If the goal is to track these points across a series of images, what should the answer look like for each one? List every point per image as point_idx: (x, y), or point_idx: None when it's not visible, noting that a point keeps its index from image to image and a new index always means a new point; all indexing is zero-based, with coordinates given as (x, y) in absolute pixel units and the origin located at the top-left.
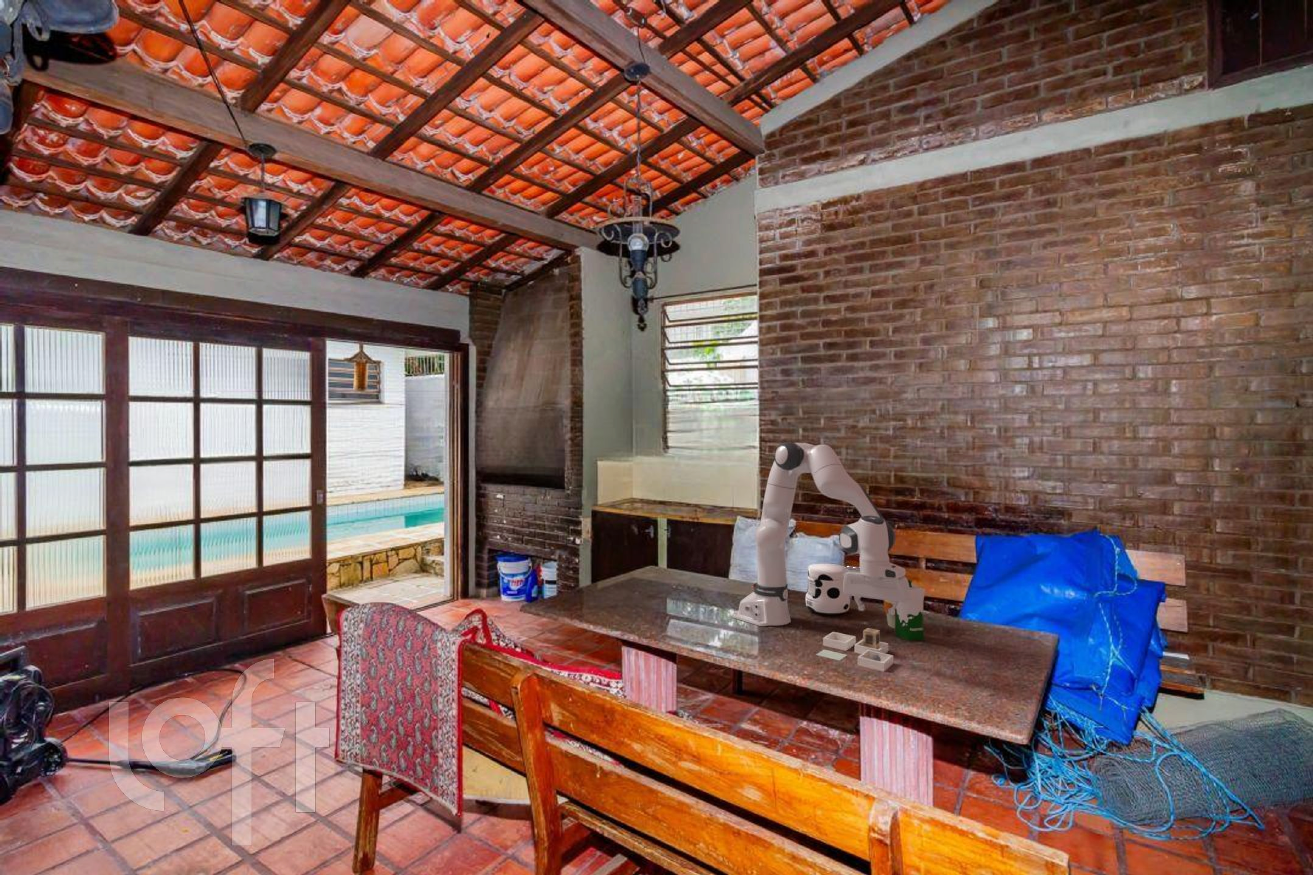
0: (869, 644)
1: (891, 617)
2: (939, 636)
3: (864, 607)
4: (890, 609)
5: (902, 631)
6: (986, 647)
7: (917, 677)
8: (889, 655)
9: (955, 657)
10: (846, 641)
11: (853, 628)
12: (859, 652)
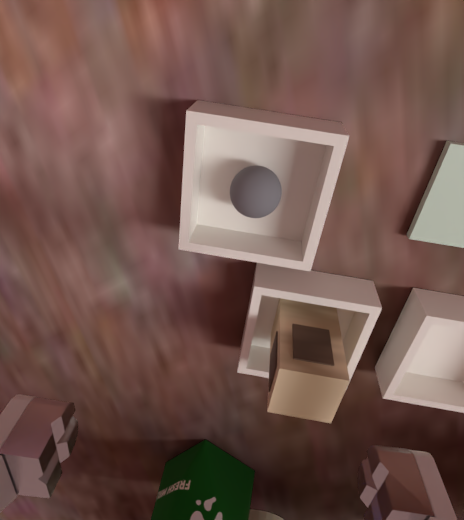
0: (308, 325)
1: None
2: (140, 490)
3: (363, 501)
4: (9, 455)
5: (219, 476)
6: None
7: (52, 127)
8: (194, 242)
9: (40, 376)
10: (425, 334)
11: None
12: (350, 283)
